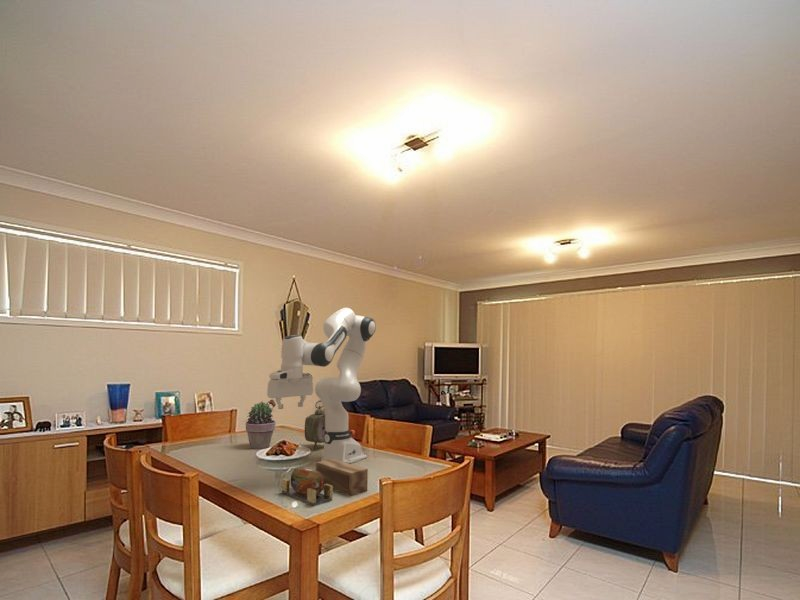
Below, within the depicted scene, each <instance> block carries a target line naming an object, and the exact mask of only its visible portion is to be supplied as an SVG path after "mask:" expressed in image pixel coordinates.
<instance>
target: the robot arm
mask: <svg viewBox="0 0 800 600" xmlns="http://www.w3.org/2000/svg"><path fill="white" fill-rule="evenodd" d="M376 327H377V324H376V321H375V320H374V318H372V317H369V316H363V315H356V313H355V311H353V309H351V308H349V307H342V308H341V309H338V310H336V311H335V312H334V313H332V314H331V315H330V316H329V317H328V318H327V319H326V320H325V321H324V323H323V332H324V334H325V336H326V337H327V338H328V339H327V340H326V341H325V342H309V341H306V340H305V339H303V336H302V335H301V334H290V335H286V336H285V337H283V339H282V344H281V352H280V353H281V355H280V357H281V365H280V369H278V370H276V371H273V372H271V373H269V379H270V380H269V381H268V383H267V391H266V392H267V393H266V394H267V397H268V399H269V398H270V399H275V403H276V405H277V409H279V410H284V403H283V404H282V402H281V401H282V398H292V397H293V398H294V397H299V398H300V400H299V401H298V402H297V407H298V408H302V407H304V402H305V400H306V398H307V396H311V395H312V396H313V394H314V393H315V394H316V396H317V397H318V398H319V401H321V402H320V403H321V404H322V406H323V407H322V408H323V411H324V414H325V431H324V441H325V442H324V446H323V451H322V455H321V461H324V460H329V459H334V460H338V461H341V462H345V463H350V464H353V463H356V462H358V461H361V460H363V459H367V455H366V454H365V453H363V450H362V446H361V444H360V443H359V442H358V441H356V440H355V439H354V438H353V437H352V435H355V434H356V432H355V430H353V429H351V430H350V429H349V416H350V415H349V412H348V411H347V410H346V409H345V408H344V406H343V403H344V402H345V403H348V402H355V401H356V400H358V398H359V397H360V396H361V392H362V387H361V384H360V382H359V380H358V371H359V368H360V367H361V364H362V361H363V359H364V357H365V353H366V349H367V343H368V341H369V340H370V339H371V338H372V337H373V336H374V335H375V334H376V333H375V332H376ZM347 337H348V340H347V341H346V343H345V345H344V347H343V348H342V351H341V353H340V355H339V357H338V360H337V362H336V367H337V369H338V371H339V376H337V377H330V376H329V377H323V378H320V379H319V380H317V381H316V384H315V386H314V383H313V381H314V380H313V378H314V377H313V375H312V374H311V373H309V372H306V373H303V368H304V367H303V366H316V367H317V366H318V367H322V368H323V367H327V366H330V364H331V363H332V361H333V359H334V357H335V354H336V353H337V351H338V350H339V349H340V348H341V346H342V345H343V343H344V342H345V340H346V339H347ZM314 391H315V392H314ZM342 402H343V403H342Z"/></svg>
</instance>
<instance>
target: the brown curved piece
mask: <svg viewBox="0 0 800 600" xmlns="http://www.w3.org/2000/svg"><path fill="white" fill-rule="evenodd" d="M290 475H291V477H290V484H291V487H292V488H293V489H294V491H296V492H298V493H302V494H306V495H307V489H309V488H312V489H314V490H316V495H317V494H319V493H322V491H324V479H323V476H322V474H321V473H320V472H318V471H316V469H315V470H314V469H310V468H309V469H308V468H305V467H302V468H301V467H299V468H295V469H294V470H293V471H292V473H291V474H290Z"/></svg>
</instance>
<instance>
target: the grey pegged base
mask: <svg viewBox="0 0 800 600" xmlns="http://www.w3.org/2000/svg"><path fill="white" fill-rule="evenodd" d="M290 484H291V479H290V480H289V479H287V478H285V477H284V478H281V487H280V488H281V489H280V491H281V494H283V495H286V496H289V497H291V498H293V499H295V500H298V501H300V502H302V503H306V504H308V505H310V506H312V507H315V506H319V505H321V504H324V503H328V502H331V501H333V496H334V495H333V494H334V493H333V491H334V489H333V486H332V485H330V484H324V486H323V493H322V492H321V493H319V494H317V495H316V490H314V489H312V488H309V489H307V495H306V494H302V493H298V492H296V491H294V489H293V488H292V486H291V487H290Z"/></svg>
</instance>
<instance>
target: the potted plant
mask: <svg viewBox="0 0 800 600" xmlns="http://www.w3.org/2000/svg"><path fill="white" fill-rule="evenodd" d="M270 405H271V406H272V408H271V407H270ZM276 405H277V402H276V401H275V400H274V399H270V400H269V401H267V402H263V400H262V401H261V402H259V403H254V406H251V409H250V411H249V412H248V415H247V416H246V418H247V419H246V420H244V421H243V420H242V421H241V422H243V423H244V422H245V431H246V432H247V438H248V442H249V447H250V449H252V450H262V449H268V448H269V447H270V444H271V440H272V438H273V434H274V431H275V429H276V423H277V422H276V420H274V419H273V417H274V415H273V414H272V413H273V412H275V411H276V409H275V410H274V408H275V407H276ZM245 411H248V410H245Z"/></svg>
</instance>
